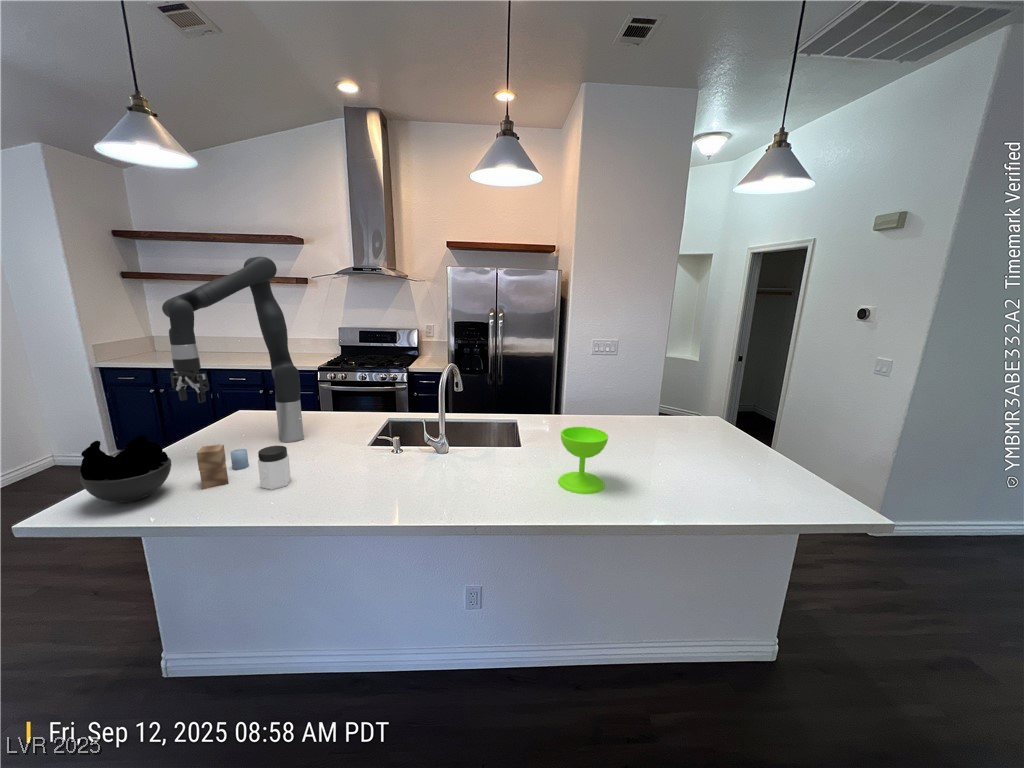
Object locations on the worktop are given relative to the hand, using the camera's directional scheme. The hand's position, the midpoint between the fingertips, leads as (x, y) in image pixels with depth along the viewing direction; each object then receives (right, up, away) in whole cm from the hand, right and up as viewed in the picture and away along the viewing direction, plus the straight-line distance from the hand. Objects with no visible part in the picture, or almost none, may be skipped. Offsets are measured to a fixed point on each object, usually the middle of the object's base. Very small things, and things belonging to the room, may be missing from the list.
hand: (192, 401), depth 148 cm
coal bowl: (0, -29, -23) cm, 37 cm away
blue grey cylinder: (+17, -24, +1) cm, 29 cm away
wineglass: (+139, -29, -5) cm, 142 cm away
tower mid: (+17, -21, -13) cm, 30 cm away
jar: (+37, -27, -11) cm, 47 cm away
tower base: (+16, -27, -12) cm, 33 cm away
